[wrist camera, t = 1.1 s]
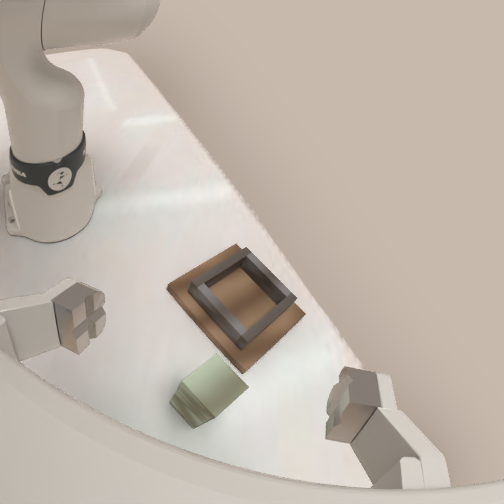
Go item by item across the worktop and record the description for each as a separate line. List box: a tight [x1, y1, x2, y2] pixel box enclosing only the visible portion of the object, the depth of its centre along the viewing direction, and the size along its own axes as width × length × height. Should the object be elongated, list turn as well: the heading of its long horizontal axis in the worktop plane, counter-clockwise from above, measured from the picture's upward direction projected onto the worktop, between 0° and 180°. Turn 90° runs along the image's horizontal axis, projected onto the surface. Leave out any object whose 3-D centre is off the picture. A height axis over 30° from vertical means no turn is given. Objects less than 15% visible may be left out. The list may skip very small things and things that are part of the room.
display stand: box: [167, 244, 305, 374], centre depth 45 cm, size 16×14×4 cm
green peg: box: [170, 353, 249, 429], centre depth 31 cm, size 4×4×12 cm
